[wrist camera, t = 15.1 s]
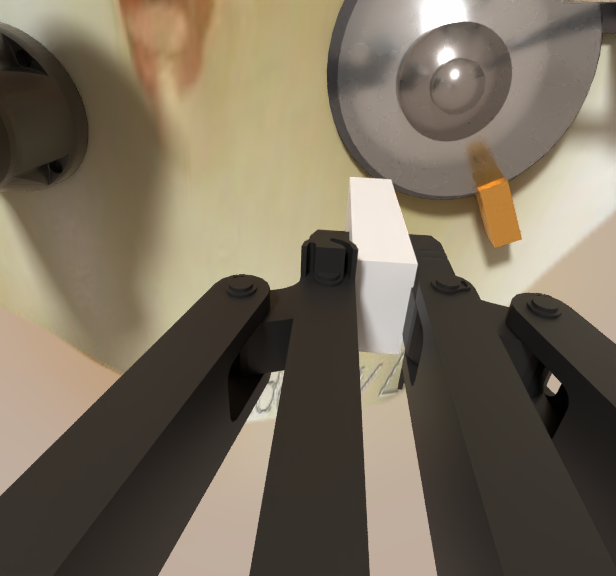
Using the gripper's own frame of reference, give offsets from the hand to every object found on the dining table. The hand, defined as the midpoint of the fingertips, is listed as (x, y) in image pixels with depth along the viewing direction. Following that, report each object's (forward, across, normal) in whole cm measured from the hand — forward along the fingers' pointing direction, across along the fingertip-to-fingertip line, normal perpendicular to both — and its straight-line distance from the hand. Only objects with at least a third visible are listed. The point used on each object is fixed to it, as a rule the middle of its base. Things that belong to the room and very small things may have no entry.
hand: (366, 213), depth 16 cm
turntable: (+25, +10, +1) cm, 27 cm away
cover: (+23, +7, +3) cm, 25 cm away
